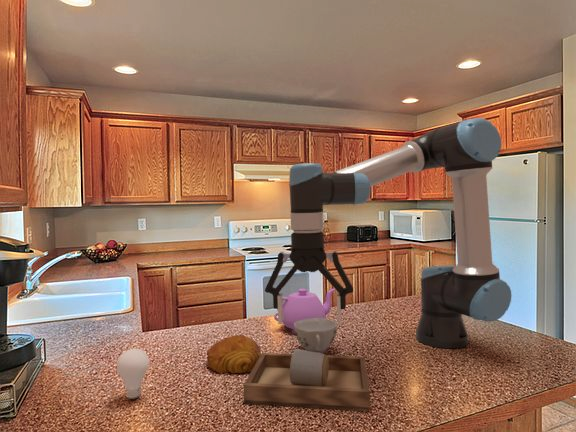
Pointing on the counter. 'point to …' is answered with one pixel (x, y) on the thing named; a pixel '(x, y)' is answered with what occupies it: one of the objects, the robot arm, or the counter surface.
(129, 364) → the light bulb
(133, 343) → the counter surface
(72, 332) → the counter surface
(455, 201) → the robot arm
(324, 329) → the teacup
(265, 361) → the tray
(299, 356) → the ceramic mug
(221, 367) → the croissant
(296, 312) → the teapot
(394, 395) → the counter surface
